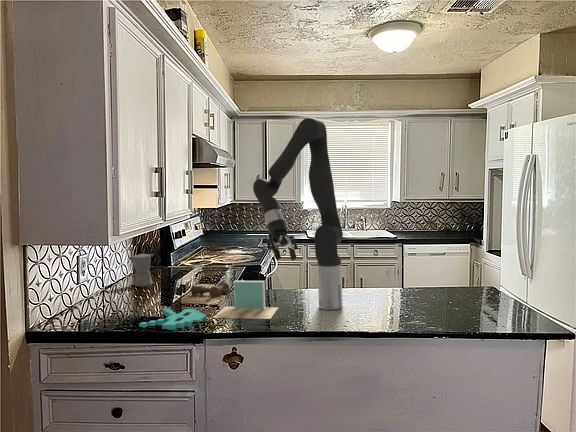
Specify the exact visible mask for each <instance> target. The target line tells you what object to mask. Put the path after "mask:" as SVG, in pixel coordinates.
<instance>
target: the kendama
mask: <svg viewBox="0 0 576 432" xmlns="http://www.w3.org/2000/svg"><path fill="white" fill-rule="evenodd" d="M232 291H233V290H232V289H231V288H230V285H229V284H228V283H227V282H226V281H220V282H219V283H218V284H217V286H211V287H206V286H204V285H202V284H201V285H197V284H192V286H191V288H190V293H191V295H192V296H196V295H201V296H202V295H204V294H207V293H208V295H209V296H210V298H211V299H214V298H215V297H218V298H219V297H221V295H227V294H229V292H230V293H231V292H232Z"/></svg>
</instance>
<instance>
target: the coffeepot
mask: <svg viewBox="0 0 576 432" xmlns="http://www.w3.org/2000/svg"><path fill="white" fill-rule="evenodd" d="M139 252H140V253H139V254H136V255H132V256H128V260H129V261H131V263H132V264H133V266H134V267H133V268H134V270H135V273H134V282H133V286H134V285H135V286H134V287H137V286H138V288H139V287H150V286H152V285H153V284H154V283H153V278H152V274H151V272H150V269H151V263H152V262H151V261H152V259H153V258H155V263H154V267H152V270H156V269H157V268H158V264H159V263H160V262H159V261H160V258H161V257H160V256H159V254H158V253H148V254H147V253H144V250H143V249H141V250H139Z"/></svg>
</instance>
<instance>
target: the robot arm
mask: <svg viewBox="0 0 576 432" xmlns="http://www.w3.org/2000/svg"><path fill="white" fill-rule="evenodd" d="M327 132H328V131H327V127H326V124H325V123H324V122H323V121H322V120H321V119H318V118H315V117H306V118H303V119H302V120H301V121H300V122H299V124H298V125H297V127H296V129H295V130H294V132H293V134H292V137H291V138H290V140H289V141H288V143H287V145H286V146H285V148H284V149H283V151H282V152H281V154H280V155H279V157H278V158H277V159H276V160H275V161H274V163H273V164H272V165H271V166H270V168H269V169H268V175H269V177H270V178H269V179H264V178H257V179H256V180H255V181H254V182H253V184H252V190H253V193H254V195H255V198H256V200H257V201H258V203H259V204H260V206H261V208H262V211H263V215H264V221H265V224H266V228H267V231H268V234H266V235H265V237H264V238H265V241H266V245H267V249H268V250H269V251H272V252H273V255H274V259H276V260H277V261H279V260H280V259H282V256H281V252H280V249H279V247H283V248H284V249H286V250H287V251H288V253H289V256H290V260H291V261H296V260H297V254H296V250H297V249H298V245H297V241H296V239H295V236H294V235H288V234H287V232H288V227H287V224H286V221H285V218H284V215H283V212H282V210H281V207H280V204H279V201H278V200H277V198H275V197H274V196H275V195H276V194H277V193H278V191H279V189H280V187H281V185H282V182H283V180H284V179H285V177H287V175H288V174H289V172H291V170H292V168H294V165H295V164H296V161H297V158H298V157H299V154H300V153H301V151H303V149H304V148H305V147H306V146H307V145H309V150H310V151H309V152H310V162H309V163H310V165H309V168H308V169H309V171H308V181H309V187H310V188H309V189H310V193H311V196H312V199H313V201H314V203H315V204H316V207H317V208H318V211H319V215H320V223H321V225H320V226H319V227H317V228H316V230H315V233H314V252H315V253H314V254H315V258H316V260H317V287H318V293H317V294H318V308H319V309H321V310H324V311H336V310H342V309H343V281H342V258H341V256H339V254H338V245H340V243H341V242H342V240H343V236H344V235H343V229H342V225H341V221H340V217H339V213H338V208H337V201H336V194H335V186H334V185H335V184H334V180H333V174H332V169H331V162H330V156H329V151H328V134H327Z"/></svg>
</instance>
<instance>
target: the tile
mask: <svg viewBox="0 0 576 432" xmlns="http://www.w3.org/2000/svg"><path fill="white" fill-rule="evenodd" d="M265 284H266V283H265V280H234V281H233V297H234V298H233V300H234V307H235V309H258V310H265V307H266V289H265V287H266V286H265Z"/></svg>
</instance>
